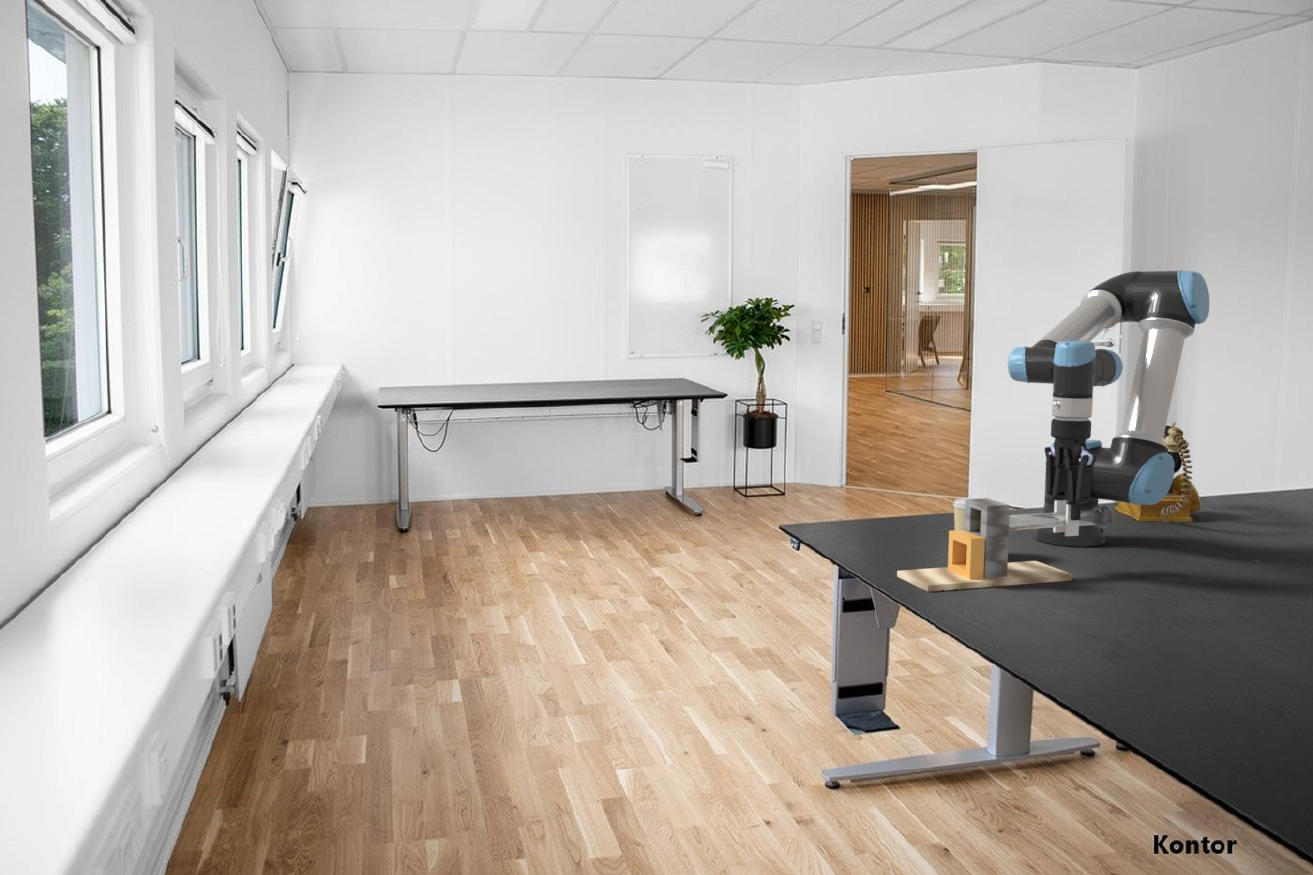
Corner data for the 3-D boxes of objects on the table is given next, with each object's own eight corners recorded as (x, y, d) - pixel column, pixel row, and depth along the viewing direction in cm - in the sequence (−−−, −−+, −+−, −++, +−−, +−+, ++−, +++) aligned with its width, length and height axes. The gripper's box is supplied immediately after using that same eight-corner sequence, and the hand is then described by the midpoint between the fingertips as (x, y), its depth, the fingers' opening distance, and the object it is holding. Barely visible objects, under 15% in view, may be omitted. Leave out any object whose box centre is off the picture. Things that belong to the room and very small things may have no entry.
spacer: (961, 568, 224) (962, 529, 223) (983, 578, 216) (984, 538, 215) (947, 569, 223) (949, 530, 222) (969, 579, 215) (971, 538, 214)
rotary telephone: (1238, 534, 263) (1245, 429, 260) (1162, 534, 264) (1168, 429, 261) (1174, 507, 298) (1179, 414, 295) (1107, 506, 299) (1112, 414, 296)
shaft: (1096, 525, 230) (1097, 504, 229) (1110, 529, 225) (1112, 508, 225) (979, 532, 222) (980, 511, 221) (991, 537, 218) (992, 515, 217)
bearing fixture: (1035, 566, 231) (1038, 493, 229) (1072, 580, 220) (1076, 503, 218) (897, 576, 222) (899, 500, 220) (927, 591, 211) (930, 511, 209)
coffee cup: (998, 561, 235) (1000, 506, 234) (952, 559, 237) (954, 504, 235) (994, 552, 244) (996, 498, 243) (950, 550, 246) (952, 496, 245)
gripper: (1031, 414, 229) (1025, 526, 232) (1081, 423, 213) (1075, 543, 216) (1062, 414, 231) (1056, 525, 234) (1114, 422, 216) (1107, 540, 218)
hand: (1065, 533), depth 225 cm, fingers closed on shaft, 3 cm apart
